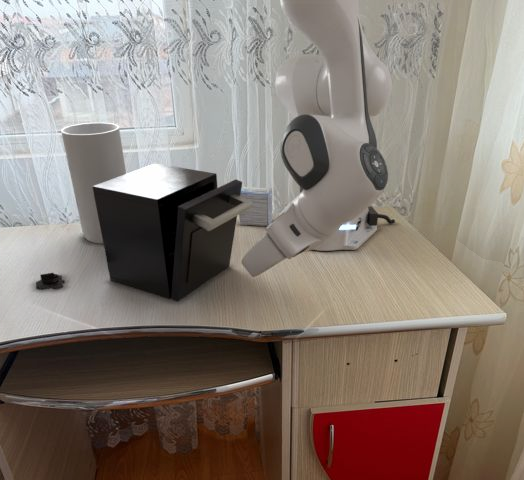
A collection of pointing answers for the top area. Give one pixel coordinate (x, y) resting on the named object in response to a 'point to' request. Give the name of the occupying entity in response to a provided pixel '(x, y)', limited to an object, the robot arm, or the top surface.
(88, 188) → the cylinder vase
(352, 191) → the robot arm
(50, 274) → the black irregular piece
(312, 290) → the top surface
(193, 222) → the oven door
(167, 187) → the oven
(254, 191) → the medicine box
